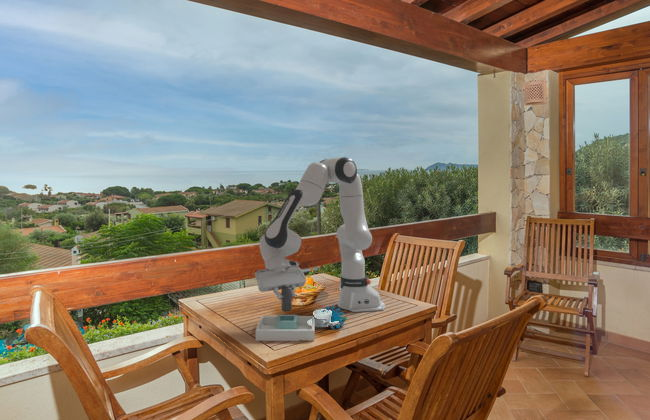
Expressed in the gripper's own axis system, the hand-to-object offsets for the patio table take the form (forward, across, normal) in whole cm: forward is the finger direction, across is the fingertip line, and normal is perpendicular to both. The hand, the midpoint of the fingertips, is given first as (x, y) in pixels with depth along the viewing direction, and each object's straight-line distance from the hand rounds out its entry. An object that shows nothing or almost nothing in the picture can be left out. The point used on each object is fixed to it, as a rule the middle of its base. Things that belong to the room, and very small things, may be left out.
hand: (287, 297), depth 163 cm
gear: (+13, +19, +6) cm, 24 cm away
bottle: (+3, 0, +4) cm, 5 cm away
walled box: (+11, -1, +8) cm, 14 cm away
